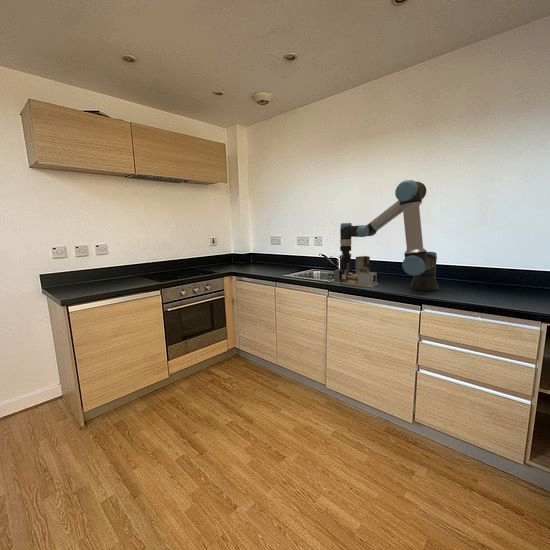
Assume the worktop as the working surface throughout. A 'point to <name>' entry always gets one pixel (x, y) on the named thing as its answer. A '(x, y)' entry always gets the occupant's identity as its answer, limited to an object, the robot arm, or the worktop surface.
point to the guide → (363, 280)
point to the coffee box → (362, 264)
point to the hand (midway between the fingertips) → (345, 278)
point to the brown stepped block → (352, 276)
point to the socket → (337, 275)
